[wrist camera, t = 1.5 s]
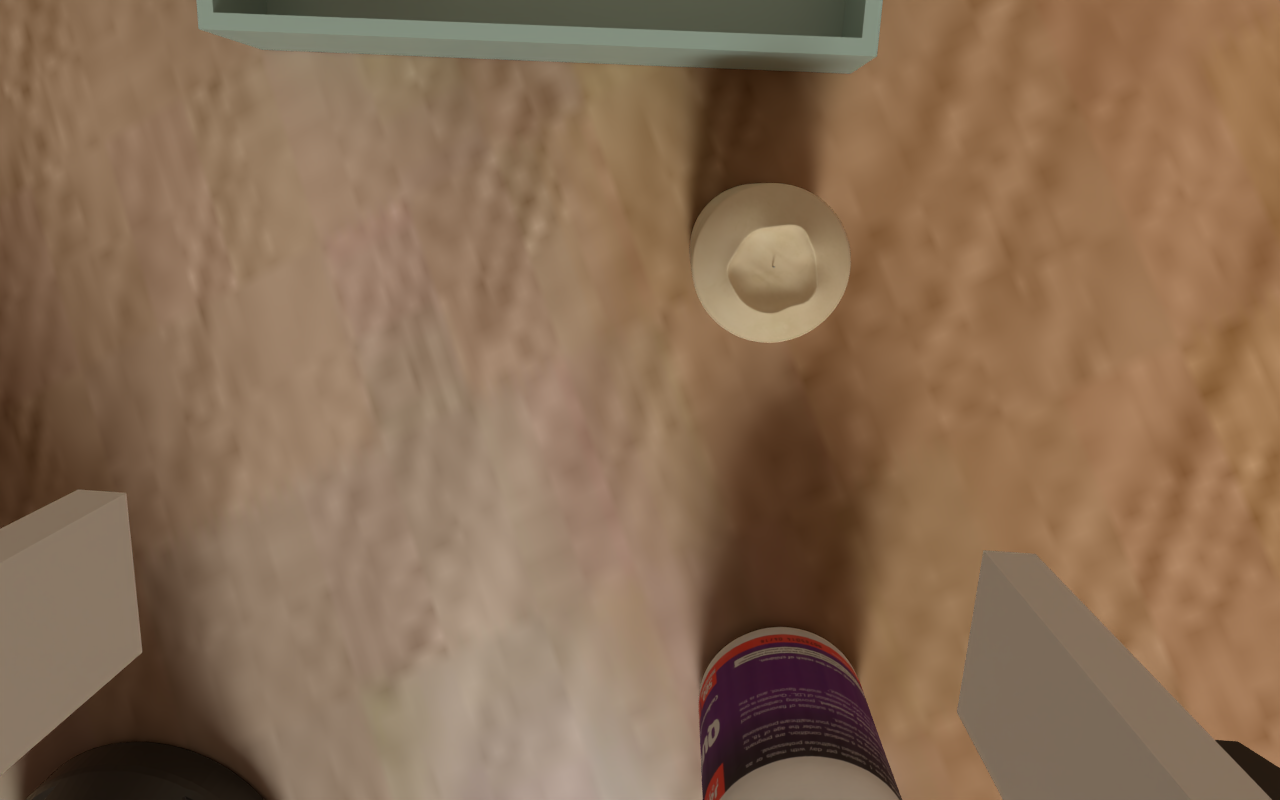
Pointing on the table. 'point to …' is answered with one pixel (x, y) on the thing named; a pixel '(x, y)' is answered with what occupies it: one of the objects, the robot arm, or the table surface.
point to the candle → (769, 261)
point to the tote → (567, 30)
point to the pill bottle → (788, 723)
